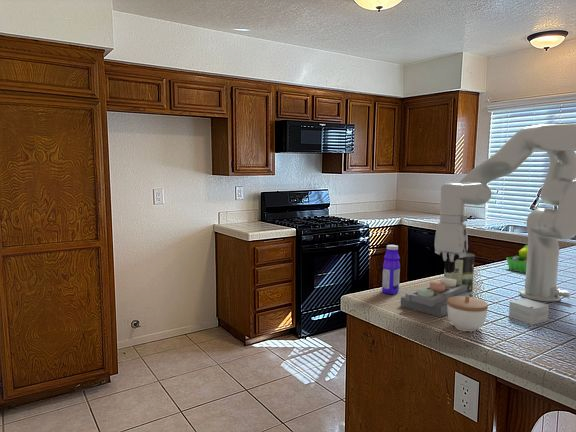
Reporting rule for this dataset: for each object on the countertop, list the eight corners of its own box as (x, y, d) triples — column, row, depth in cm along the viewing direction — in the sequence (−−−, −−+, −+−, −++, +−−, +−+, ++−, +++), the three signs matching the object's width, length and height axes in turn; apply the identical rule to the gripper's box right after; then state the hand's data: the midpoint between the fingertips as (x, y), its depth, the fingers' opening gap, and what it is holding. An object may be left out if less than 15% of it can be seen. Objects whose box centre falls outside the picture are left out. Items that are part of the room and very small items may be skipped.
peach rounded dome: (447, 291, 142) (448, 283, 141) (440, 294, 138) (441, 285, 138) (433, 288, 145) (434, 280, 145) (426, 291, 142) (427, 282, 141)
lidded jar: (483, 338, 114) (485, 304, 113) (441, 329, 119) (443, 297, 118) (488, 325, 123) (490, 294, 122) (449, 318, 128) (451, 288, 127)
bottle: (386, 288, 160) (387, 243, 158) (400, 291, 157) (402, 244, 155) (379, 293, 154) (381, 246, 152) (395, 296, 151) (396, 247, 149)
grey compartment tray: (473, 300, 146) (474, 286, 145) (438, 318, 129) (439, 302, 128) (435, 292, 156) (435, 278, 155) (398, 307, 139) (398, 292, 138)
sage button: (436, 299, 136) (436, 290, 136) (428, 303, 133) (428, 293, 133) (421, 296, 140) (422, 287, 140) (414, 299, 136) (414, 290, 136)
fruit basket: (504, 268, 194) (506, 244, 193) (517, 266, 198) (519, 242, 196) (527, 274, 184) (529, 248, 182) (540, 272, 187) (542, 247, 186)
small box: (523, 313, 134) (524, 297, 134) (548, 321, 127) (549, 304, 127) (507, 317, 130) (508, 301, 130) (532, 325, 124) (534, 308, 123)
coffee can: (469, 288, 161) (471, 251, 160) (475, 296, 151) (477, 257, 150) (440, 286, 163) (442, 250, 162) (445, 294, 153) (447, 256, 152)
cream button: (458, 287, 147) (459, 278, 147) (452, 290, 144) (452, 281, 143) (444, 284, 151) (445, 276, 150) (438, 287, 147) (438, 278, 147)
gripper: (478, 220, 141) (475, 274, 144) (436, 216, 152) (434, 266, 154) (468, 222, 136) (466, 278, 138) (425, 218, 147) (424, 270, 149)
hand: (449, 272), depth 146 cm, fingers closed
